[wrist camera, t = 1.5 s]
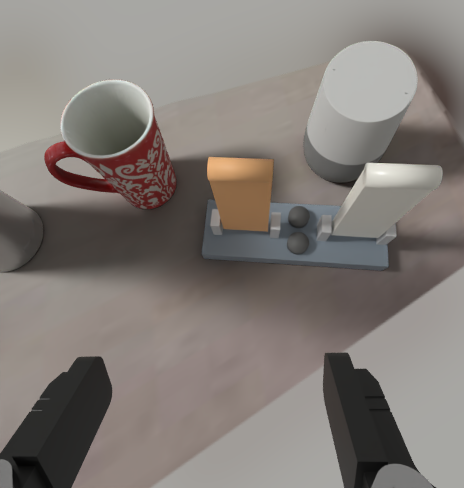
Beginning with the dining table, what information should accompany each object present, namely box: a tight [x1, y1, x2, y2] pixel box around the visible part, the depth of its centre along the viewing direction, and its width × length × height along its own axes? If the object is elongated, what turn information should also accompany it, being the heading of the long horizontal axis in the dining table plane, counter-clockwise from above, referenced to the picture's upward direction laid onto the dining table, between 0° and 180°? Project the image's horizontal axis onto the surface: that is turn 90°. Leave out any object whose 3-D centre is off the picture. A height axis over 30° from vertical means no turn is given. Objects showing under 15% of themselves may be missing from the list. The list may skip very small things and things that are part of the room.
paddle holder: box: [202, 200, 397, 271], centre depth 37 cm, size 21×7×5 cm, turn 85°
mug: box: [45, 80, 176, 209], centre depth 37 cm, size 13×9×14 cm
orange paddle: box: [207, 157, 274, 232], centre depth 30 cm, size 5×2×13 cm, turn 85°
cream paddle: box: [331, 163, 443, 238], centre depth 29 cm, size 5×2×13 cm, turn 85°
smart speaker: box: [304, 41, 417, 182], centre depth 36 cm, size 10×9×14 cm
